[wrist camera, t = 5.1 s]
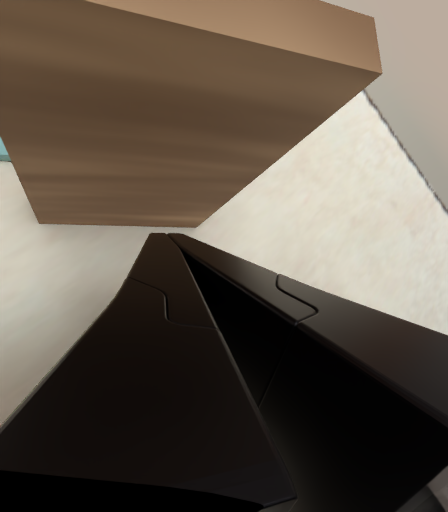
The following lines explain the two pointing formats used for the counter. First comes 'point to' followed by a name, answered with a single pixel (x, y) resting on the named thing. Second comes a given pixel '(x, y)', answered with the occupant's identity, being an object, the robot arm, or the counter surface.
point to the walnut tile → (167, 99)
